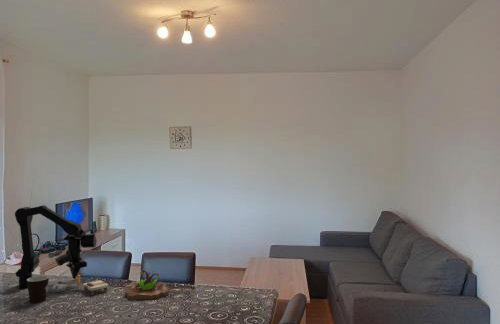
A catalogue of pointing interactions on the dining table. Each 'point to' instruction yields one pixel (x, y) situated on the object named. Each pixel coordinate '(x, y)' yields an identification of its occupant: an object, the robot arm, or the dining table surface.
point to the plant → (147, 289)
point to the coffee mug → (37, 288)
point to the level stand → (93, 286)
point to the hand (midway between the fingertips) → (74, 278)
